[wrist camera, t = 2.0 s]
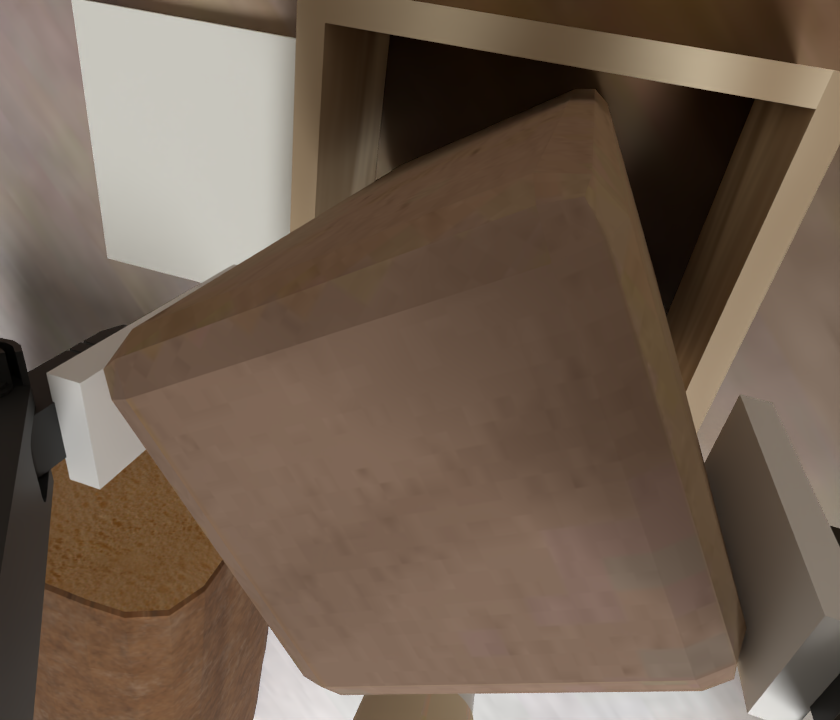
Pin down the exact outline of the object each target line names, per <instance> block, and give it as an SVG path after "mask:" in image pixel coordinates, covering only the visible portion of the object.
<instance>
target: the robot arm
mask: <svg viewBox="0 0 840 720" xmlns="http://www.w3.org/2000/svg"><path fill="white" fill-rule="evenodd" d="M235 266H237V265H235V264H233V265H232V266H230V267H228V268H226V269H225V270H223V271H221V272H220V273H218V274H216V275H214V276H213V277H211V278H209V279H207V280H206V281H204V282H202V283H201V284H199V285H197V286H195V287H194V288H192V289H190V290H189V291H187V292H185V293H183V294H182V295H180V296H178V297H176V298H175V299H173V300H171V301H170V302H168V303H166V304H164V305H163V306H161V307H159V308H157V309H156V310H154V311H152V312H151V313H149V314H147V315H145V316H144V317H142V318H140V319H138V320H137V321H135V322H133V323H132V324H130V325H128V326H126V325H121V326H117V327H114V328H111V329H107V330H104V331H101V332H99V333H97V334H95V335H94V336H92V337H90V338H88V339H87V340H85V341H84V343H79V344H78V345H76V346H74V347H72V348H70V351H65V352H63V353H62V354H60V355H58V356H56V357H54V358H53V359H51V360H49V361H47V362H45V363H44V364H42V365H40V366H38V367H37V368H35V369H33V370H31V371H29V372H27V368H26V364H25V360H24V356H23V351H22V348H21V345H20V344H18V343H16V342H15V341H13V340H8V339H3V338H0V720H33V715H34V704H35V692H36V681H37V669H38V658H39V646H40V635H41V623H42V612H43V600H44V589H45V577H46V566H47V554H48V543H49V531H50V520H51V508H52V497H53V485H54V480H53V475H52V471H51V469H52V468H53V467H54V466H56V465H57V464H58V463H60V462H61V461H62V460H64V459H66V464H67V468H68V473H69V477H70V479H71V480H74V481H77V482H79V483H82V484H85V485H88V486H91V487H94V488H97V489H101V488H102V487H104V486H105V485H106V484H107V483H108V482H109V481H111V480H112V479H113V478H114V477H115V476H116V475H117V474H119V473H120V472H121V471H122V470H123V469H124V468H125V467H127V466H128V465H129V464H130V463H131V462H132V461H133V460H135V459H136V458H137V457H138V456H139V455H140V454H141V453H143V452H144V451H145V450H146V449H145V447H144V446H143V444H142V443H141V441H140V440H139V439H138V437H137V436H136V434H135V433H134V431H133V430H132V429H131V427H130V426H129V424H128V423H127V421H126V420H125V419H124V417H123V416H122V414H121V413H120V411H119V410H118V408H117V407H116V406H115V404H114V403H113V401H112V400H111V397H110V393H109V389H108V385H107V382H106V378H105V374H104V370H103V369H104V368H105V366H106V365H107V363H108V362H109V361H110V359H111V358H112V357H113V355H114V354H115V352H116V351H117V350H118V348H119V347H120V345H121V344H122V343H123V341H124V340H125V338H126V337H127V336H128V334H129V333H130V331H131V330H132V329H133V328H135V327H136V326H138V325H140V324H141V323H143V322H145V321H146V320H148V319H150V318H151V317H153V316H155V315H156V314H158V313H159V312H161V311H163V310H164V309H166V308H168V307H169V306H171V305H173V304H174V303H176V302H178V301H179V300H181V299H182V298H184V297H186V296H187V295H189V294H191V293H192V292H194V291H196V290H197V289H199V288H201V287H202V286H204V285H205V284H207V283H209V282H210V281H212V280H214V279H215V278H217V277H219V276H220V275H222V274H223V273H225V272H227V271H228V270H230V269H232V268H233V267H235ZM704 465H705V469H706V472H707V476H708V480H709V484H710V488H711V492H712V496H713V500H714V503H715V507H716V511H717V515H718V519H719V523H720V527H721V531H722V534H723V538H724V542H725V546H726V550H727V554H728V558H729V562H730V565H731V569H732V573H733V577H734V581H735V585H736V589H737V593H738V597H739V600H740V604H741V608H742V612H743V616H744V620H745V624H746V628H747V629H746V632H745V636H744V640H743V643H742V647H741V651H740V654H739V658H738V662H737V666H738V671H739V676H740V680H741V685H742V690H743V695H744V699H745V704H746V709H747V713H748V714H750V715H753V716H756V717H759V718H762V719H765V720H802V719H803V718H804V717H805V716H806V715H807V714H808V713H809V711H810V710H811V713H812V716H813V719H814V720H840V529H839V528H836V527H832V526H830V525H829V523H828V521H827V519H826V517H825V514H824V512H823V510H822V508H821V506H820V504H819V502H818V499H817V497H816V495H815V493H814V491H813V489H812V487H811V484H810V482H809V480H808V478H807V476H806V474H805V472H804V469H803V467H802V465H801V463H800V461H799V459H798V457H797V454H796V452H795V450H794V448H793V446H792V444H791V442H790V439H789V437H788V435H787V433H786V431H785V429H784V427H783V424H782V422H781V420H780V418H779V416H778V414H777V412H776V409H775V407H774V405H773V403H771V402H768V401H764V400H760V399H756V398H752V397H748V396H744V395H740V396H739V397H738V399H737V401H736V403H735V405H734V407H733V409H732V411H731V413H730V415H729V417H728V419H727V421H726V423H725V425H724V427H723V428H722V430H721V432H720V434H719V436H718V438H717V440H716V442H715V444H714V446H713V448H712V450H711V452H710V454H709V456H708V458H707V460H706V461H705V463H704Z"/></svg>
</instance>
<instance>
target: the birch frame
mask: <svg viewBox="0 0 840 720" xmlns="http://www.w3.org/2000/svg"><path fill="white" fill-rule="evenodd" d="M390 34H392V35H397V36H403V37H409V38H414V39H420V40H426V41H431V42H437V43H443V44H448V45H454V46H460V47H465V48H471V49H477V50H482V51H488V52H494V53H500V54H505V55H511V56H517V57H522V58H528V59H534V60H539V61H545V62H551V63H556V64H562V65H568V66H573V67H579V68H585V69H590V70H596V71H602V72H607V73H613V74H619V75H625V76H630V77H636V78H642V79H647V80H653V81H659V82H664V83H670V84H676V85H681V86H687V87H693V88H698V89H704V90H710V91H715V92H721V93H727V94H732V95H738V96H744V97H750V98H755V100H754V103H753V105H752V108H751V110H750V112H749V115H748V117H747V120H746V122H745V125H744V127H743V130H742V132H741V135H740V137H739V140H738V142H737V144H736V147H735V149H734V152H733V154H732V157H731V159H730V162H729V164H728V167H727V169H726V172H725V174H724V176H723V179H722V181H721V184H720V186H719V189H718V191H717V194H716V196H715V199H714V201H713V203H712V206H711V208H710V211H709V213H708V216H707V218H706V221H705V223H704V226H703V228H702V231H701V233H700V235H699V238H698V240H697V243H696V245H695V248H694V250H693V253H692V255H691V258H690V260H689V263H688V265H687V267H686V270H685V272H684V275H683V277H682V280H681V282H680V285H679V287H678V290H677V292H676V294H675V297H674V299H673V302H672V304H671V307H670V309H669V312H668V314H667V321H668V325H669V329H670V333H671V337H672V341H673V345H674V348H675V352H676V356H677V360H678V364H679V368H680V372H681V376H682V379H683V383H684V387H685V391H686V395H687V399H688V403H689V407H690V410H691V414H692V418H693V422H694V426H695V430H696V434H697V432H698V430H699V428H700V426H701V424H702V422H703V420H704V418H705V416H706V414H707V412H708V410H709V408H710V406H711V404H712V402H713V400H714V398H715V396H716V394H717V392H718V390H719V388H720V386H721V384H722V382H723V380H724V377H725V375H726V373H727V371H728V369H729V367H730V365H731V363H732V361H733V359H734V357H735V355H736V353H737V351H738V349H739V347H740V345H741V343H742V341H743V339H744V337H745V335H746V333H747V331H748V329H749V327H750V325H751V323H752V321H753V319H754V317H755V315H756V313H757V311H758V309H759V307H760V305H761V303H762V301H763V299H764V297H765V294H766V292H767V290H768V288H769V286H770V284H771V282H772V280H773V278H774V276H775V274H776V272H777V270H778V268H779V266H780V264H781V262H782V260H783V258H784V256H785V254H786V252H787V250H788V248H789V246H790V244H791V242H792V240H793V238H794V236H795V234H796V232H797V230H798V228H799V226H800V224H801V222H802V220H803V218H804V216H805V213H806V211H807V209H808V207H809V205H810V203H811V201H812V199H813V197H814V195H815V193H816V191H817V189H818V187H819V185H820V183H821V181H822V179H823V177H824V175H825V173H826V171H827V169H828V167H829V165H830V163H831V161H832V159H833V157H834V155H835V153H836V151H837V149H838V147H839V145H840V71H835V70H829V69H823V68H817V67H811V66H805V65H799V64H793V63H787V62H781V61H775V60H769V59H763V58H757V57H751V56H745V55H739V54H732V53H726V52H720V51H714V50H708V49H702V48H696V47H690V46H684V45H678V44H672V43H666V42H660V41H654V40H648V39H642V38H636V37H630V36H624V35H618V34H612V33H606V32H599V31H593V30H587V29H581V28H575V27H569V26H563V25H557V24H551V23H545V22H539V21H533V20H527V19H521V18H515V17H509V16H503V15H497V14H491V13H485V12H479V11H472V10H466V9H460V8H454V7H448V6H442V5H436V4H430V3H424V2H418V1H412V0H297V18H296V51H295V83H294V116H293V148H292V181H291V214H290V233H291V232H292V231H294V230H296V229H297V228H299V227H301V226H302V225H304V224H306V223H307V222H309V221H310V220H312V219H314V218H315V217H317V216H319V215H320V214H322V213H324V212H325V211H327V210H329V209H330V208H332V207H333V206H335V205H337V204H338V203H340V202H342V201H343V200H345V199H347V198H348V197H350V196H352V195H353V194H355V193H356V192H358V191H360V190H361V189H363V188H365V187H366V186H368V185H370V184H371V183H373V182H375V174H376V164H377V155H378V145H379V135H380V126H381V116H382V106H383V97H384V87H385V77H386V68H387V58H388V48H389V39H390Z"/></svg>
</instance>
